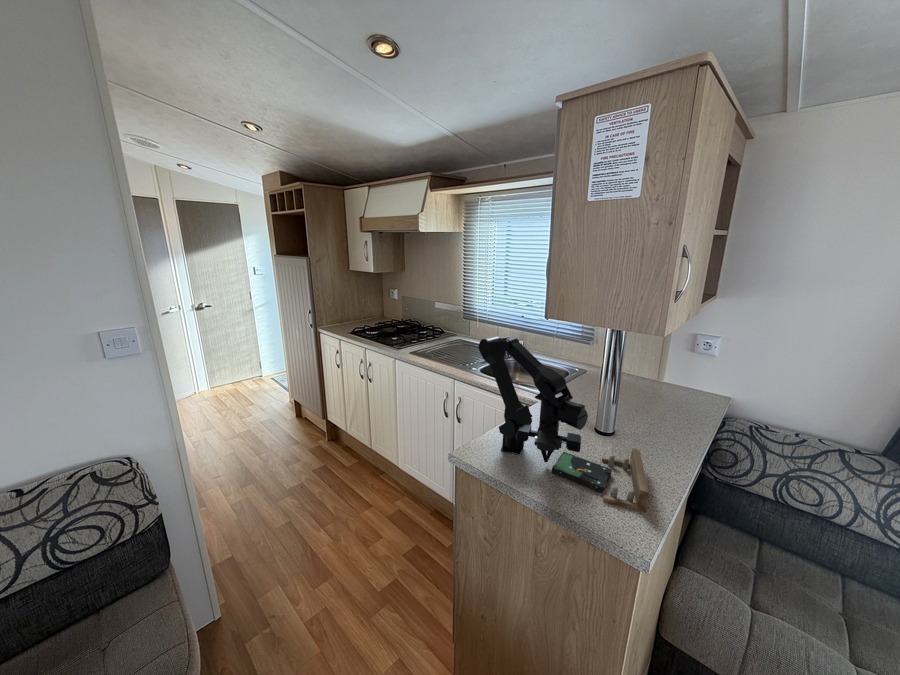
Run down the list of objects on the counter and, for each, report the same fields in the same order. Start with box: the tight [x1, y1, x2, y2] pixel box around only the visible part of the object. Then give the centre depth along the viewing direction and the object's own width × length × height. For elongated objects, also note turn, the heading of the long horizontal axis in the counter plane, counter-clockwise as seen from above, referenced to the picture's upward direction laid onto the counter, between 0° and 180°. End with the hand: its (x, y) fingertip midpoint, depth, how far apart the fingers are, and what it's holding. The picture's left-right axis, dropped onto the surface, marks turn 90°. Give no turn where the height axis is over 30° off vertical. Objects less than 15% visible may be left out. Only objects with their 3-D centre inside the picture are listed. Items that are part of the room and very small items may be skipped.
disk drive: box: [550, 451, 613, 494], centre depth 105 cm, size 10×3×15 cm
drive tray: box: [601, 448, 650, 513], centre depth 100 cm, size 10×20×6 cm, turn 159°
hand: (545, 461), depth 108 cm, fingers closed
